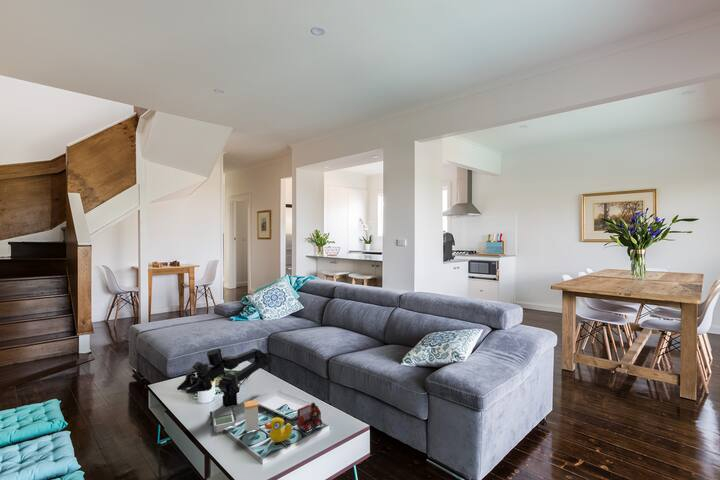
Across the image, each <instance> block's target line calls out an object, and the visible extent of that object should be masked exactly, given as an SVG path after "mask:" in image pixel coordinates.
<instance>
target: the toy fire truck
mask: <svg viewBox="0 0 720 480" xmlns="http://www.w3.org/2000/svg"><path fill="white" fill-rule="evenodd" d="M315 404H316V403H315V402H312V403H311V405H307V406H304V407H302V408H300V409H298V410H297V415H298V417H297V418H298V420H297V422H296V426H297V427H296V428H298V429H299V430H303V429H304V432H305V431H306V432H305V433H307V431H309V430H311V429H312V428H315V427H317V426H319V425H321V424H323V422H322V413H321V410H320V408H319V406H318V405H317V404H316V405H315ZM321 426H322V425H321ZM312 430H313V429H312Z"/></svg>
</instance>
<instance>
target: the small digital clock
mask: <svg viewBox="0 0 720 480" xmlns="http://www.w3.org/2000/svg"><path fill="white" fill-rule="evenodd" d="M236 416H237V415H236V411H235V406H231V407H226V408H221V409H218V410H213V411H209V419H210V425H213V429H214V434H216V433H220V432H224V431H223V430H224V428H227V427H229V426H235V427H236V424H235V420H236V419H237V417H236Z"/></svg>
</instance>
